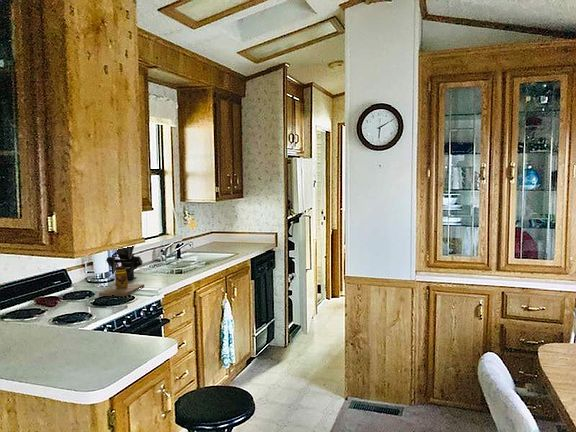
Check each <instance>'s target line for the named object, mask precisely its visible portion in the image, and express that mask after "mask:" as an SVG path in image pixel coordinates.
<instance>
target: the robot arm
mask: <svg viewBox="0 0 576 432" xmlns="http://www.w3.org/2000/svg"><path fill="white" fill-rule="evenodd" d="M122 248H123V247H122ZM134 248H135V245H134V246H132V247H127V248H123V249H118V250H117V249H116V251H115V254H116V255H117V257H118V258H116V257H115V256H107V258H106V260H105V261H106V263H107V264H108V265H109V267H111V275H113V276H114V275H115V272H116V271H115V270H116V269H115V268H116V267H118V264H120V265H121V266H125V267H126V272H127V281H133V280H135V279H137V278H138V277H137V276H135V270H136V269H138V268H139V267H140V266H141V267H142V265H143V260H142V258H141V257H140V255H137V256H136V255H135V254H134V253H133V252H134V250H135V249H134Z"/></svg>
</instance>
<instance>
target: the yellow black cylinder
mask: <svg viewBox="0 0 576 432" xmlns="http://www.w3.org/2000/svg"><path fill="white" fill-rule="evenodd" d="M115 269H116V270H115V273H114V276H115V285H116V288H113V289H115V290H124V289H128V288H130V287H128V284H129V282H128V280H127V272H126V267H125V266H117V267H116V268H115Z"/></svg>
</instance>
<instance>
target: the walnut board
mask: <svg viewBox="0 0 576 432" xmlns="http://www.w3.org/2000/svg"><path fill="white" fill-rule="evenodd" d="M143 286H144V287H145V283H144V284H143V283H140V284H139V283H128V287H130V288H128V289H124V290H115V289H113V288H116V284H114V285H113V286H111V287H109V288H107V289H104V290H102V291H100V292H98V297H102V296H103V297H128V296H130V295H131V294H133V293H135V292H137V291H139V290H140V289H139V288H141V287H143ZM144 287H143V288H144ZM138 289H139V290H138ZM141 289H142V288H141ZM136 290H137V291H136ZM112 295H114V296H112Z"/></svg>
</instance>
